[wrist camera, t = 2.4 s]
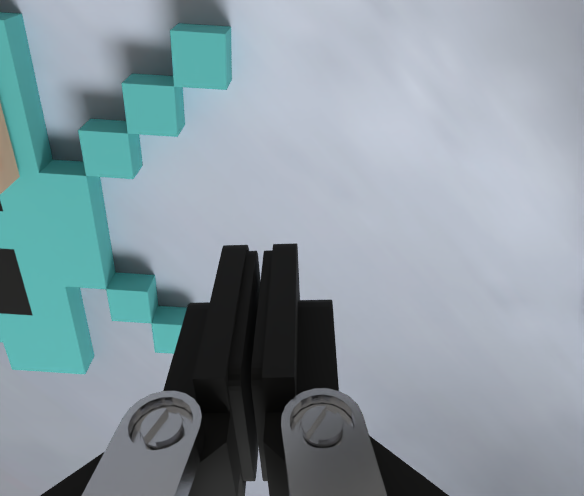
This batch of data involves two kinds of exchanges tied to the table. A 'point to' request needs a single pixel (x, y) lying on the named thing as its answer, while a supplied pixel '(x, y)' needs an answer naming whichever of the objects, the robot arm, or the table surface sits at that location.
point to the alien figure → (83, 203)
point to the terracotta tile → (6, 157)
